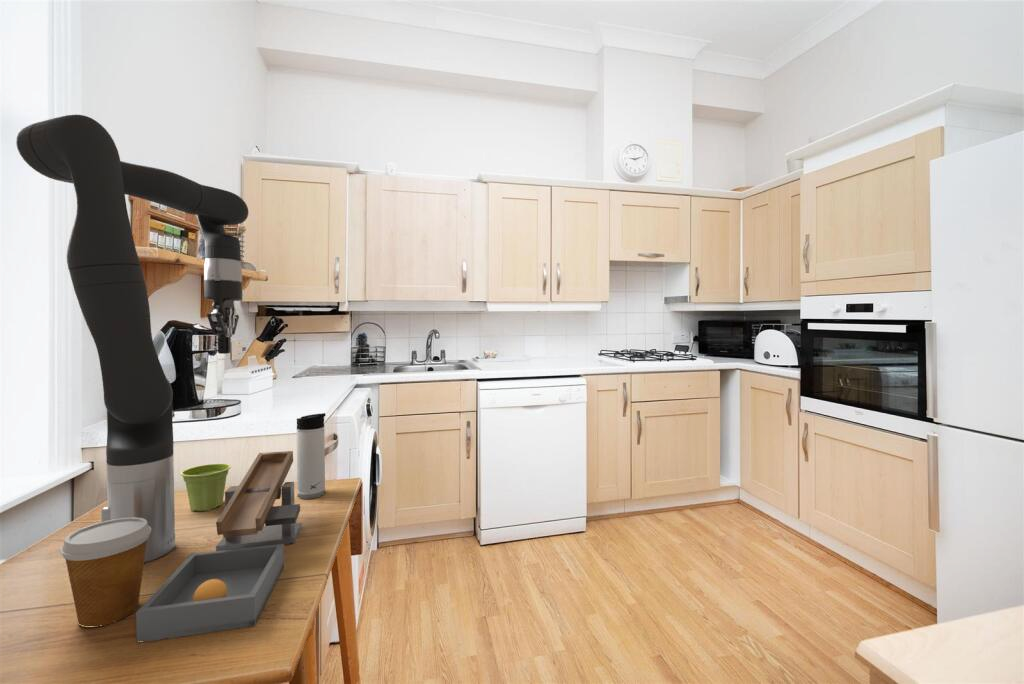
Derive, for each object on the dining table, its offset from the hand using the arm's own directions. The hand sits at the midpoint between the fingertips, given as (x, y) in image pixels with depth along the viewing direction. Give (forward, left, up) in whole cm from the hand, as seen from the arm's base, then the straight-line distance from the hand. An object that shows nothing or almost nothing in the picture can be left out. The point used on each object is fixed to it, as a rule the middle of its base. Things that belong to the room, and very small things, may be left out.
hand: (224, 353), depth 105 cm
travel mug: (+19, -1, -35) cm, 40 cm away
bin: (+14, -44, -35) cm, 58 cm away
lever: (+16, -23, -29) cm, 40 cm away
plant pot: (-3, -3, -35) cm, 35 cm away
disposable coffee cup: (0, -44, -35) cm, 56 cm away
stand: (+14, -24, -35) cm, 45 cm away
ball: (+14, -48, -32) cm, 59 cm away
